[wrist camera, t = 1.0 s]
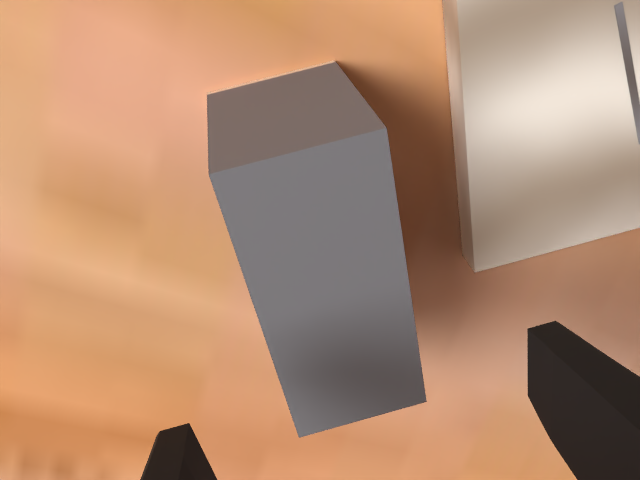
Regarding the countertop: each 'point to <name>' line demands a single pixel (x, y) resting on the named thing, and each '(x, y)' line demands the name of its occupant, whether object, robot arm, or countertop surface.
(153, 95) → the countertop surface
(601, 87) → the ash board
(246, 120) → the block
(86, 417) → the countertop surface
